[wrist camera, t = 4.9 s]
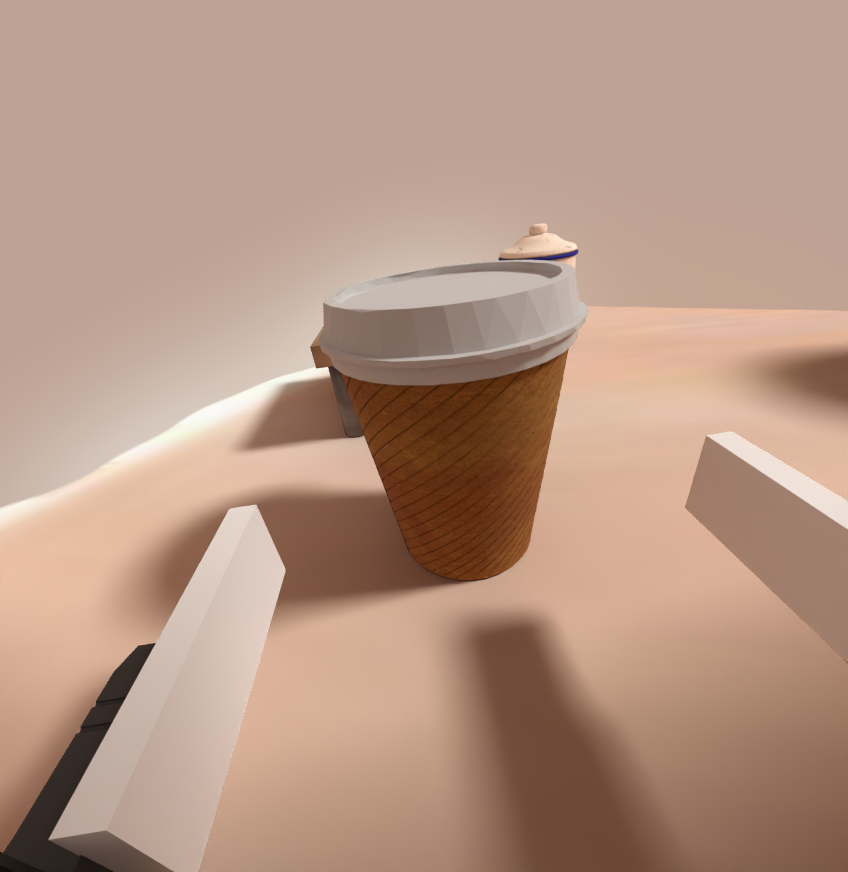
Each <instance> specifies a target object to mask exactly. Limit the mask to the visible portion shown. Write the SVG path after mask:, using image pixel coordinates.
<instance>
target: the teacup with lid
mask: <svg viewBox="0 0 848 872" xmlns="http://www.w3.org/2000/svg"><path fill="white" fill-rule="evenodd" d="M546 231H547V225H546V224H536V225H531V226H530V228H529V234H530V235H529V236H525V237H523V238H521V239H520V240H519V241H518V242H517V243H516V244H514V245H513V246H512V247H510V248H508V249H506V250H504V251H502V252H501V254H500V258H499V261H503V260H546V261H557V262H563V263H566V264H569V265H572V266H573V267H574V270H575V259H576V254H577V253H578V250H577V245H576V244H575V243H572V242H567V241H565V240H563V239H561V238H560V237H558V236H557V235H555V234H550V233H546Z"/></svg>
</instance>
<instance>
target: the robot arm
mask: <svg viewBox="0 0 848 872" xmlns="http://www.w3.org/2000/svg"><path fill="white" fill-rule="evenodd" d="M685 508H686V509H687V510H688V511H689V512H690V513H691V514H692V515H693V516H694V517H695V518H696V519H697V520H698V521H699V522H700V523H702V524H703V525H704V526H705V527H706V528H707V529H708V530H709V531H710V532H711V533H712V534H713V535H714V536H715V537H716V538H717V539H718V540H719V541H720V542H721V543H722V544H724V545H725V546H726V547H727V548H728V549H729V550H730V551H731V552H732V553H733V554H734V555H735V556H736V557H737V558H738V559H739V560H740V561H741V562H742V563H743V564H744V565H746V566H747V567H748V568H749V569H750V570H751V571H752V572H753V573H754V574H755V575H756V576H757V577H758V578H759V579H760V580H761V581H762V582H763V583H764V584H765V585H766V586H768V587H769V588H770V589H771V590H772V591H773V592H774V593H775V594H776V595H777V596H778V597H779V598H780V599H781V600H782V601H783V602H784V603H785V604H786V605H787V606H788V607H790V608H791V609H792V610H793V611H794V612H795V613H796V614H797V615H798V616H799V617H800V618H801V619H802V620H803V621H804V622H805V623H806V624H807V625H808V626H809V627H810V628H811V629H813V630H814V631H815V632H816V633H817V634H818V635H819V636H820V637H821V638H822V639H823V640H824V641H825V642H826V643H827V644H828V645H829V646H830V647H831V648H832V649H833V650H835V651H836V652H837V653H838V654H839V655H840V656H841V657H842V658H843V659H844V660H845V661H846V662H847V663H848V501H846V500H845V499H843V498H841V497H840V496H838V495H837V494H835V493H833V492H832V491H830V490H828V489H827V488H825V487H823V486H822V485H820V484H818V483H817V482H815V481H813V480H812V479H810V478H808V477H807V476H805V475H803V474H802V473H800V472H798V471H797V470H795V469H794V468H792V467H790V466H789V465H787V464H785V463H784V462H782V461H780V460H779V459H777V458H775V457H774V456H772V455H770V454H769V453H767V452H765V451H764V450H762V449H760V448H759V447H757V446H755V445H754V444H752V443H750V442H749V441H747V440H746V439H744V438H742V437H741V436H739V435H737V434H736V433H734V432H732V431H731V432H725V433H718V434H712V435H706V438H705V441H704V445H703V448H702V452H701V455H700V459H699V462H698V465H697V469H696V472H695V476H694V479H693V482H692V486H691V489H690V493H689V496H688V499H687V503H686V506H685ZM285 571H286V569H285V567H284V565H283V563H282V560H281V558H280V556H279V554H278V551H277V549H276V547H275V545H274V543H273V540H272V538H271V536H270V534H269V532H268V529H267V527H266V525H265V523H264V520H263V518H262V516H261V514H260V512H259V509H258V507H257V505H249V506H243V507H236V508H230V509H229V510H228V512H227V514H226V516H225V518H224V520H223V521H222V523H221V525H220V527H219V529H218V530H217V532H216V534H215V536H214V538H213V540H212V541H211V543H210V545H209V547H208V549H207V551H206V552H205V554H204V556H203V558H202V560H201V562H200V563H199V565H198V567H197V569H196V571H195V573H194V574H193V576H192V578H191V580H190V582H189V584H188V585H187V587H186V589H185V591H184V593H183V594H182V596H181V598H180V600H179V602H178V604H177V605H176V607H175V609H174V611H173V613H172V615H171V616H170V618H169V620H168V622H167V624H166V626H165V627H164V629H163V631H162V633H161V635H160V637H159V638H158V640H157V642H156V643H153V644H146V645H140V646H138V647H137V648H136V649H135V650H134V651H133V652H132V653H131V654H130V655H129V656H128V657H127V658H126V659H125V661H124V662H123V663H122V664H121V665H120V666H119V667H118V668H117V669H116V670H115V671H114V673H113V674H112V676H111V677H110V679H109V681H108V682H107V684H106V686H105V687H104V689H103V691H102V692H101V694H100V696H99V697H98V699H97V701H96V706H95V707H93V708H92V709H91V710H90V712H89V714H88V715H87V717H86V719H85V720H84V722H83V724H82V725H81V731H80V732H79V733H78V734H76V735H75V737H74V739H73V740H72V742H71V744H70V745H69V747H68V748H67V750H66V752H65V753H64V755H63V757H62V758H61V760H60V762H59V763H58V765H57V767H56V768H55V770H54V772H53V773H52V775H51V777H50V778H49V780H48V782H47V783H46V785H45V786H44V788H43V790H42V791H41V793H40V795H39V796H38V798H37V800H36V801H35V803H34V805H33V806H32V808H31V810H30V811H29V813H28V815H27V816H26V818H25V819H24V821H23V823H22V824H21V826H20V828H19V829H18V831H17V833H16V834H15V836H14V838H13V839H12V841H11V842H10V844H9V845H8V846H7V848H6V849H5V851H4V852H3V853H1V852H0V872H199V870H200V867H201V863H202V860H203V856H204V853H205V849H206V846H207V842H208V839H209V835H210V832H211V828H212V825H213V821H214V818H215V814H216V811H217V807H218V804H219V801H220V797H221V794H222V790H223V787H224V783H225V780H226V776H227V773H228V769H229V766H230V762H231V759H232V755H233V752H234V748H235V745H236V742H237V738H238V735H239V731H240V728H241V724H242V721H243V717H244V714H245V710H246V707H247V703H248V700H249V696H250V693H251V689H252V686H253V683H254V679H255V676H256V672H257V669H258V665H259V662H260V658H261V655H262V651H263V648H264V644H265V641H266V637H267V634H268V630H269V627H270V624H271V620H272V617H273V613H274V610H275V606H276V603H277V599H278V596H279V592H280V589H281V585H282V582H283V578H284V575H285Z"/></svg>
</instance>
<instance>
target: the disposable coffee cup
mask: <svg viewBox="0 0 848 872" xmlns="http://www.w3.org/2000/svg"><path fill="white" fill-rule="evenodd" d="M323 306H324V307H323V308H324V330H323V331H322V332H321V334H320V336H319V337H318V340H319V345H320V348H321V350H322V352H324V353H325V354H327V355H328V356H329V357H330V358H331V361H332V364H333V366H334V368H336V369H337V370H338V371H340V374H341V376H342V379H343V382H344V384H345V387H346V389H347V392H348V395H349V397H350V400H351V402H352V405H353V408H354V410H355V413H356V415H357V418H358V420H359V423H360V426H361V428H362V431H363V433H364V436H365V439H366V441H367V444H368V447H369V449H370V452H371V454H372V457H373V459H374V462H375V465H376V467H377V470H378V473H379V475H380V478H381V480H382V483H383V485H384V488H385V491H386V493H387V496H388V498H389V501H390V504H391V506H392V509H393V511H394V514H395V517H396V519H397V522H398V524H399V527H400V529H401V532H402V535H403V537H404V540H405V543H406V545H407V548H408V550H409V552H410V553H411V554H412V556H413V557H414V559H415V560H416V561H417V562H418V563H419V564H420V565H421V566H422V567H424V568H425V569H427V570H429V571H431V572H432V573H434V574H437V575H440V576H443V577H447V578H451V579H457V580H477V579H482V578H488V577H491V576H494V575H497V574H499V573H502V572H503V571H505V570H507V569H509V568H510V567H512V566H513V565H514V564H515V563H516V562H517V561H518V560H519V559H520V558H521V557H522V556H523V555H524V553H525V552H526V550H527V548H528V545H529V542H530V537H531V531H532V526H533V522H534V516H535V512H536V507H537V502H538V498H539V492H540V488H541V483H542V479H543V473H544V468H545V464H546V458H547V454H548V448H549V444H550V440H551V433H552V429H553V425H554V420H555V415H556V411H557V404H558V400H559V396H560V389H561V385H562V381H563V374H564V369H565V364H566V359H567V354H568V350H569V347H571V346H572V345H573V344H574V342H575V340H576V338H577V333H578V329H579V328H580V327H581V326H582V325H583V324H584V323H585V321H586V317H587V313H588V309H587V306H586V304H585V303H583V302H582V301H580V300H579V297H578V291H577V284H576V277H575V270H574V267H573V266H572V265H569V264H566V263H563V262H557V261H546V260H503V261H488V262H474V263H464V264H455V265H447V266H439V267H431V268H425V269H419V270H413V271H408V272H402V273H396V274H391V275H387V276H382V277H378V278H373V279H369V280H365V281H362V282H358V283H354V284H351V285H348V286H345V287H343V288H340V289H337V290H335V291H333V292H331V293H330V294H328V295H327V296H325V297H324V303H323Z"/></svg>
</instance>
